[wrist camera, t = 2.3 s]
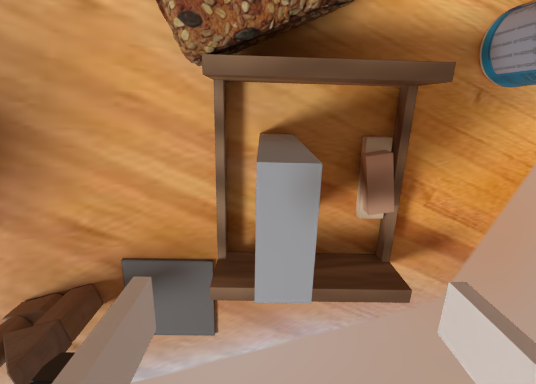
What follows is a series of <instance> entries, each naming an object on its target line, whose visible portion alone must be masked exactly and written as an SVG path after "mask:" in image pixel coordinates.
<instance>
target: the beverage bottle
mask: <svg viewBox="0 0 536 384" xmlns="http://www.w3.org/2000/svg"><path fill="white" fill-rule="evenodd" d="M479 58H480V65H481V68H482V71H483V73H484V74H485V76H486V77H487V78H488V79H489V80H490V81H491V82H493V83H494V84H496V85H499V86H503V87H520V86H527V85H536V0H535V1H532V2H530V3H527V4H523V5H520V6H517V7H515V8H512V9H510V10H508V11H507V12H505V13H503V14H502V15H501V16H499V17H498V18H497V19H496V20H495V21H494V22H493V23H492V24H491V26H490V27H489V29H488V30H487V32H486V33H485V35H484V38H483V40H482V43H481V47H480V54H479Z"/></svg>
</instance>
